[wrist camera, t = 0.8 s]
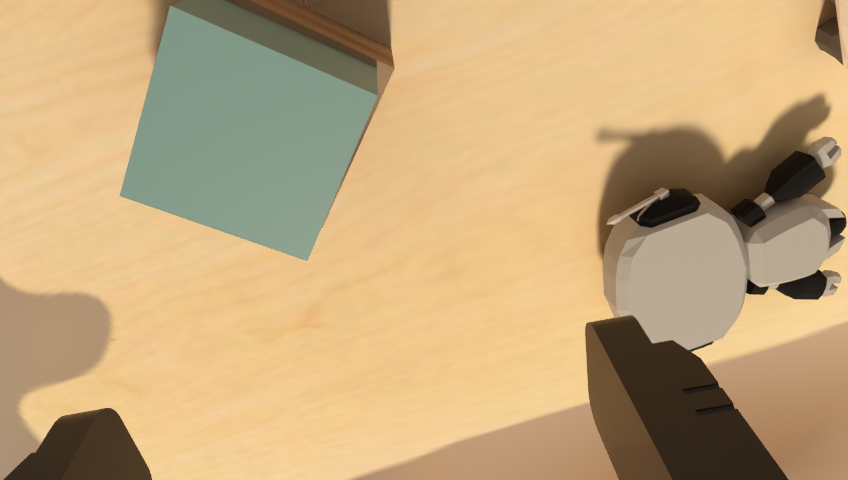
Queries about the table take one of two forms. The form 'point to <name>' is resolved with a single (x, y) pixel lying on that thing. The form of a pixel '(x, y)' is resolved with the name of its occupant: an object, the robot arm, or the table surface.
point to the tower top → (247, 125)
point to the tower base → (328, 41)
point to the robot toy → (722, 252)
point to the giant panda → (835, 33)
